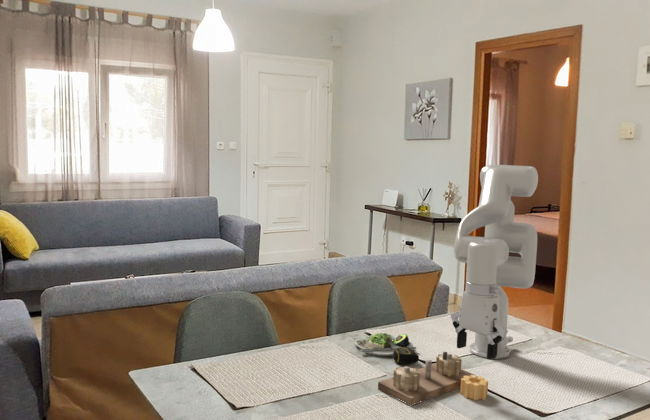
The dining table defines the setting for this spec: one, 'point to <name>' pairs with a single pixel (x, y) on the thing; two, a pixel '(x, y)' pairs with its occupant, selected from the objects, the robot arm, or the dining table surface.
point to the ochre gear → (474, 387)
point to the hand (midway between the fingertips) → (476, 352)
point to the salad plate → (383, 344)
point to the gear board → (425, 379)
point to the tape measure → (405, 356)
